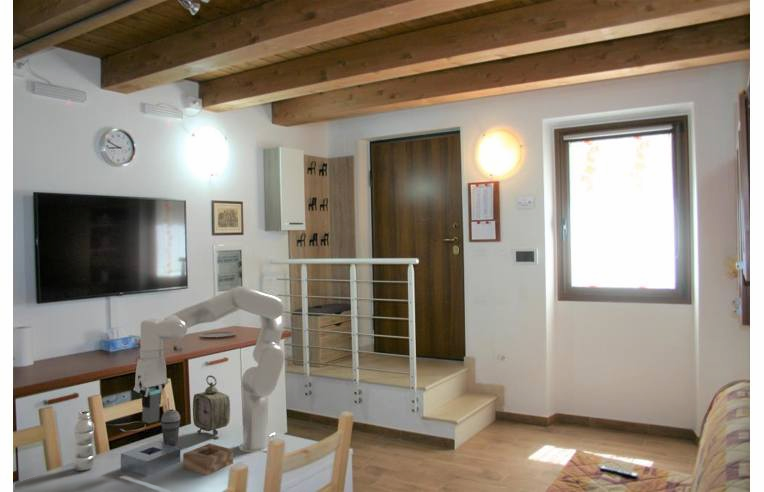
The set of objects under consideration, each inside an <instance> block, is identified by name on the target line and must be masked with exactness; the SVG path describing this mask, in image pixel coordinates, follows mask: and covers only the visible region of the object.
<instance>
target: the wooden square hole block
mask: <svg viewBox="0 0 764 492" xmlns="http://www.w3.org/2000/svg"><path fill="white" fill-rule="evenodd" d="M182 458H183V459H182V468H183V469H184V470H189V471H191V472H194V473H195V472H196V473H199V474H201V475H204V476H209V475H212V474H214V473H216V472H217V471H219V470H220V471H221V470H222V469H224V468H226V467H228V466H231V465H233V464H234V449H232V448H230V447H225V446H222V445H217V444H213V443H206V444H204V445H202V446H199V447H197V448H194V449H192V450H189V451H187V452H184V453H183V454H182Z"/></svg>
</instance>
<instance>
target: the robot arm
mask: <svg viewBox="0 0 764 492" xmlns="http://www.w3.org/2000/svg"><path fill="white" fill-rule="evenodd" d="M284 304H285V303H284V302H283V300H281V298H279V297H277V296H273V295H270V294H267V293H264V292H261V291H257V290H255V289H253V288H250V287H247V286H241V285H239V286H235V287H233V288H230V289H229V290H227V291H224V292H222V293H220V294H218V295H216V296H213V297H211V298H209V299H207V300H204V301H201V302H199V303H196V304H194V305H191V306H188V307H185V308H183V309H181V310H179V311H177V312H175V313H172V314H170V315H168V316H166V317H164V319H163V320H162V319H158V318H149V319H148V318H147V319H143V320H142V321H141V323H140V354H139V355H140V356H139V357H140V358H139V359H138V360H137V364H136V369H135V379H134V380H135V381H134V383H135V384H134V388H133V389H132V390H133V391H135V392H136V393H138V394H139V395H140V396H141V407H142V408H143V407H145V408H149V396H148V393H149V389H150V388H154V389H158V390H160V405H161V403H162V401H161V400H162V393H163V391H164V389H165V387H166V386H168V383H170V381H169V379H168V377H167V366H166V365H167V364H166V358H165V356H164V353H165V352H166V349H165V348H164V340H173V341H174V340H175V341H177V340H180V339H182V338H184V337H185V336H186V334H187V332H188V329H189V328H192V327H194V326H197V325H200V324H207V323H213V322H217V321H220V320H221V319H223V318H225V317H228V316H230V315H231V314H234V313H235V312H236V313H237V312H238V311H239V310H242V311H245V312H248V313H250V314H253V315H256V316H260V318H261V319H260V320H261V327H260V331H259V334H258V337H257V340H256V342H255V346H254V349H253V353H252V357H253V360H254V362H256V363H257V366H251V367H249V368H247V369H246V370H245V371H244V372H243V375H242V377H241V389H242V402H243V404H242V405H243V406H242V443H241V444H239V446H238V449H239V450H240V451H242V452H246V453H259V452H262V453H267V452H268V451H267V444H268V441H269V442H270V440H271V439H274V438H276V435H277V434H276V433H275V432H271V433H269V396H270V395H272V393H274V391H275V389H276V387H277V384H278V382H279V378H280V375H281V372H282V369H283V366H284V364H285V363H284V362H285V353H284V350H283V349H282V347H281V346H280V342H281V339H282V335H283V331H284V326H285V325H284V316H283V314H284V312H285V305H284Z"/></svg>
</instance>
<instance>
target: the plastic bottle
mask: <svg viewBox="0 0 764 492" xmlns="http://www.w3.org/2000/svg"><path fill="white" fill-rule="evenodd" d="M90 418H91V411H81V412H79V413H78V417H77V419H78V421H77V422H76V423H75V426H74V428H73V431H74V438H75V453H74V459H73V468H74V469H75V470H76V471H80V472H81V471H82V472H83V471H86V470H90V469H91V468H93V466H94V463H95V456H94V446H93V442H94V441H93V440H94V433H95V424H94V422H93V421H92V420H91V419H90Z"/></svg>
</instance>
